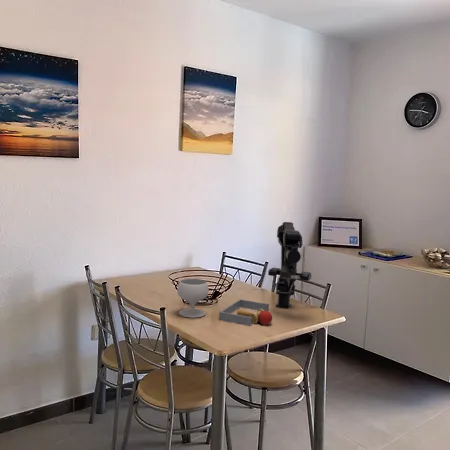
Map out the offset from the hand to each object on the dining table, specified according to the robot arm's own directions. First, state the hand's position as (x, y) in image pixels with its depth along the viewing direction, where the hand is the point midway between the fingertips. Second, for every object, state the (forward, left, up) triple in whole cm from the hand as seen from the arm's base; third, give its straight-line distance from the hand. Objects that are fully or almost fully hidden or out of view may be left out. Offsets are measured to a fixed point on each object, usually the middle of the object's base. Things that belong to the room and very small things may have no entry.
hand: (288, 292), depth 210 cm
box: (+10, -17, -11) cm, 22 cm away
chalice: (+21, -38, -11) cm, 45 cm away
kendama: (+14, -11, -12) cm, 21 cm away
